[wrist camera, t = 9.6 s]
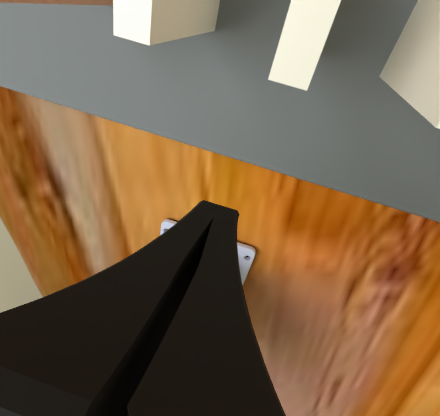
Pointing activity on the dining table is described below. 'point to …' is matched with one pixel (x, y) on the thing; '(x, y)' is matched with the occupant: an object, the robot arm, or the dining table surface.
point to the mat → (242, 92)
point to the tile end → (62, 2)
